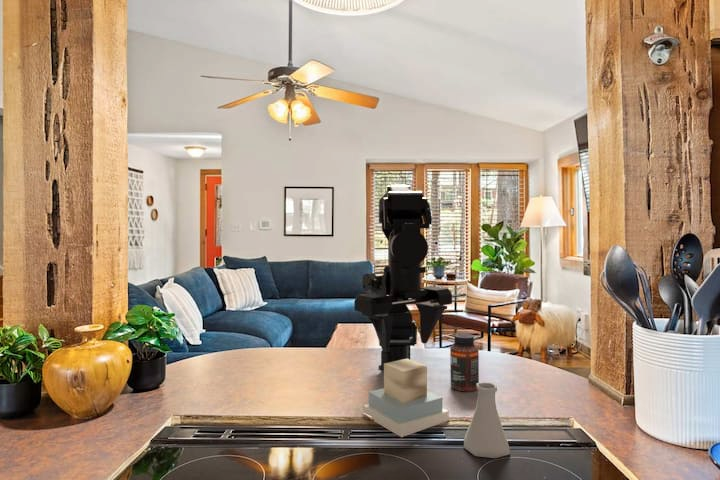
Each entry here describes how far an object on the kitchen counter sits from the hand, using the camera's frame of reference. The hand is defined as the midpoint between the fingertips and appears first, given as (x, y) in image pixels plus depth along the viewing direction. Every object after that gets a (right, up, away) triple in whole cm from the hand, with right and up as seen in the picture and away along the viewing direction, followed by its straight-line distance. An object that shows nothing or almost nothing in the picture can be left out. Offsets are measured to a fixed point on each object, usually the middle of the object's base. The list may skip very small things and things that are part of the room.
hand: (405, 346), depth 83 cm
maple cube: (0, -9, 0) cm, 9 cm away
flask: (+12, -14, -11) cm, 21 cm away
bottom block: (0, -14, +1) cm, 14 cm away
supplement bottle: (+14, -13, +15) cm, 24 cm away
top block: (0, -11, 0) cm, 11 cm away
